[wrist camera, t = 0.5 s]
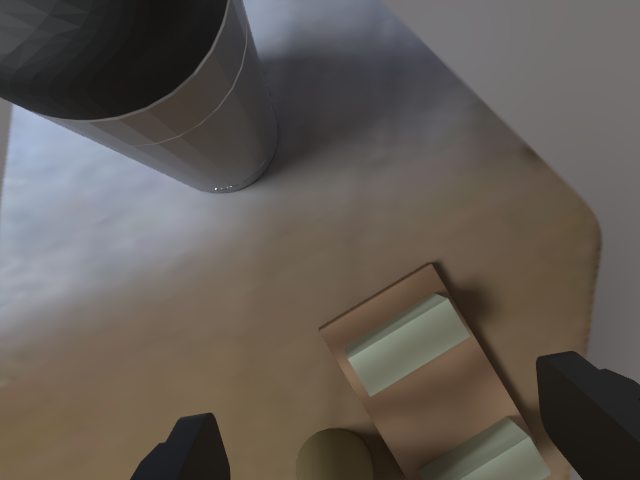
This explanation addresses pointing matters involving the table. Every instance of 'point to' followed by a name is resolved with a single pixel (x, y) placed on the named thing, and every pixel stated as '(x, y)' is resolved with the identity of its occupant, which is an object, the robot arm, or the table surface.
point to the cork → (334, 457)
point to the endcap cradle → (431, 385)
